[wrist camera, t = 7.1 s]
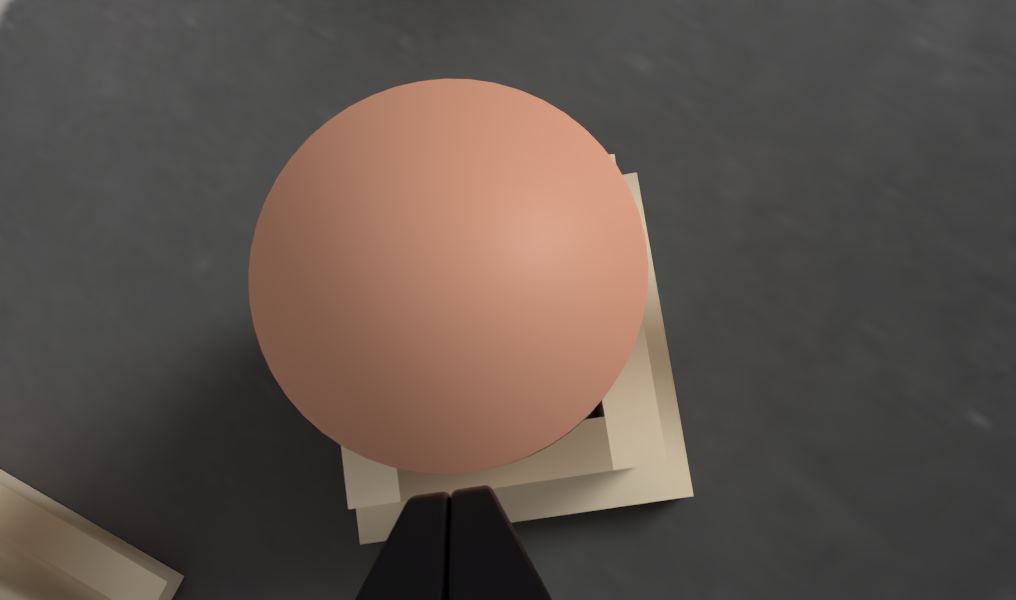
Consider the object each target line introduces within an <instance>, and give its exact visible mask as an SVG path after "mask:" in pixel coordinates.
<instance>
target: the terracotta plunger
mask: <svg viewBox="0 0 1016 600" xmlns="http://www.w3.org/2000/svg"><path fill="white" fill-rule="evenodd" d="M248 278H249V301H250V307H251V313H252V319H253V325H254V329H255V332H256V335H257V338H258V342H259V345H260V348H261V351H262V353H263V355H264V357H265V359H266V362H267V364H268V366H269V368H270V370H271V372H272V374H273V376H274V377H275V379H276V381H277V382H278V384H279V385H280V387H281V388H282V390H283V391H284V393H285V395H286V396H287V397H288V398H289V399H290V401H291V402H292V403H293V404H294V405H295V407H296V408H297V409H298V410H299V411H300V412H301V414H302V415H303V416H304V417H305V418H307V419H308V420H309V421H310V422H311V423H312V424H313V425H314V426H315V427H317V428H318V429H319V430H320V431H321V432H322V433H324V434H325V435H327V436H328V437H330V438H331V439H333V440H334V441H335V442H337V443H338V444H340V445H341V446H343V447H344V448H346V449H348V450H351V451H353V452H355V453H357V454H359V455H361V456H363V457H365V458H367V459H369V460H372V461H375V462H378V463H381V464H384V465H387V466H390V467H393V468H398V469H403V470H408V471H414V472H419V473H436V474H454V473H467V472H476V471H480V470H485V469H490V468H494V467H499V466H503V465H507V464H510V463H513V462H515V461H518V460H521V459H524V458H527V457H529V456H532V455H534V454H535V453H537V452H539V451H541V450H543V449H545V448H547V447H549V446H551V445H553V444H554V443H555V442H557V441H558V440H560V439H561V438H563V437H564V436H565V435H567V434H568V433H570V432H571V431H572V430H573V429H575V428H576V427H577V426H578V425H579V424H580V423H581V422H582V421H583V420H584V419H585V418H587V417H588V416H589V415H590V414H591V412H592V411H593V410H594V409H595V408H596V406H597V405H598V404H599V403H600V402H601V400H602V399H603V398H604V397H605V395H606V394H607V393H608V391H609V390H610V389H611V387H612V386H613V384H614V382H615V381H616V379H617V378H618V376H619V374H620V373H621V371H622V370H623V368H624V367H625V364H626V362H627V360H628V358H629V356H630V353H631V351H632V349H633V347H634V345H635V343H636V339H637V336H638V333H639V330H640V326H641V323H642V320H643V316H644V310H645V304H646V298H647V292H648V256H647V246H646V238H645V234H644V230H643V226H642V221H641V217H640V213H639V211H638V208H637V206H636V203H635V201H634V198H633V195H632V193H631V190H630V188H629V187H628V185H627V183H626V181H625V179H624V178H623V176H622V174H621V172H620V170H619V169H618V167H617V166H616V164H615V163H614V162H613V160H612V159H611V157H610V156H609V155H608V153H607V152H606V151H605V149H604V148H603V147H602V146H601V145H600V144H599V143H598V142H597V141H596V140H595V139H594V138H593V137H592V136H591V134H590V133H589V132H588V131H587V130H586V129H585V128H583V127H582V126H581V125H580V124H578V123H577V122H576V121H574V120H573V119H572V118H571V117H569V116H568V115H567V114H566V113H564V112H562V111H561V110H559V109H557V108H556V107H554V106H552V105H551V104H549V103H547V102H546V101H544V100H542V99H539V98H537V97H535V96H532V95H530V94H528V93H525V92H523V91H521V90H518V89H514V88H511V87H507V86H504V85H500V84H497V83H491V82H485V81H478V80H472V79H437V80H427V81H419V82H414V83H410V84H406V85H401V86H397V87H394V88H391V89H388V90H385V91H383V92H380V93H377V94H374V95H371V96H370V97H368V98H366V99H364V100H362V101H360V102H358V103H356V104H354V105H352V106H350V107H348V108H347V109H345V110H344V111H342V112H341V113H339V114H338V115H336V116H335V117H333V118H332V119H330V120H329V121H327V122H326V123H325V124H324V125H323V126H322V127H321V128H319V129H318V130H317V131H316V132H315V133H314V134H313V135H311V136H310V137H309V138H308V139H307V140H306V141H305V143H304V144H303V145H302V146H301V147H300V148H299V149H298V150H297V151H296V153H295V154H294V155H293V156H292V157H291V159H290V160H289V161H288V163H287V164H286V166H285V167H284V169H283V170H282V172H281V173H280V174H279V176H278V177H277V179H276V181H275V183H274V185H273V187H272V189H271V191H270V192H269V194H268V196H267V198H266V200H265V203H264V205H263V208H262V211H261V214H260V216H259V219H258V222H257V225H256V229H255V233H254V238H253V242H252V246H251V253H250V263H249V273H248Z"/></svg>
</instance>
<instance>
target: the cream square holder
mask: <svg viewBox="0 0 1016 600" xmlns="http://www.w3.org/2000/svg"><path fill="white" fill-rule="evenodd" d="M609 156H610V157H611V159H612V160H613V162H614V163H615V164H616V161H615V155H614V154H611V155H609ZM622 176H623V178H624V179H625V181H626V183H627V185H628V187H629V188H630V190H631V193H632V195H633V198H634V201H635V203H636V206H637V208H638V211H639V213H640V217H641V221H642V226H643V230H644V234H645V238H646V246H647V256H648V292H647V298H646V304H645V310H644V316H643V320H642V323H641V326H640V330H639V333H638V336H637V339H636V343H635V345H634V347H633V349H632V351H631V353H630V356H629V358H628V360H627V362H626V364H625V367H624V368H623V370H622V371H621V373H620V374H619V376H618V378H617V379H616V381H615V382H614V384H613V386H612V387H611V389H610V390H609V391H608V393H607V394H606V395H605V397H604V398H603V399H602V400H601V402H600V403H599V404H598V405H597V406H596V408H595V409H594V410H593V411H592V412H591V414H590V415H589V416H588V417H587V418H585V419H584V420H583V421H582V422H581V423H580V424H579V425H578V426H577V427H576V428H575V429H573V430H572V431H571V432H570V433H568V434H567V435H565V436H564V437H563V438H561V439H560V440H558V441H557V442H555V443H554V444H553V445H551V446H549V447H547V448H545V449H543V450H541V451H539V452H537V453H535V454H534V455H532V456H529V457H527V458H524V459H521V460H518V461H515V462H513V463H510V464H507V465H503V466H499V467H494V468H490V469H485V470H480V471H476V472H467V473H454V474H436V473H419V472H414V471H408V470H403V469H398V468H393V467H390V466H387V465H384V464H381V463H378V462H375V461H372V460H369V459H367V458H365V457H363V456H361V455H359V454H357V453H355V452H353V451H351V450H348V449H346V448H344V447H343V446H341V451H342V460H343V469H344V477H345V486H346V495H347V504H348V509H355V508H356V514H357V523H358V531H359V540H360V545H361V544H367V543H374V542H381V541H386V540H387V538H388V536H389V534H390V532H391V530H392V528H393V526H394V524H395V523H396V521H397V519H398V517H399V515H400V513H401V511H402V509H403V507H404V505H405V504H406V502H407V501H408V499H410V498H411V497H412V496H415V495H421V494H428V493H435V492H442V491H443V492H447V493H449V494H450V496H451V495H452V492H453V491H455V490H457V489H462V488H469V487H476V486H483V485H487V486H490V487H491V488H492V489H493V490H494V492H495V494H496V496H497V498H498V500H499V501H500V503H501V505H502V507H503V509H504V511H505V513H506V514H507V516H508V518H509V520H510V522H511V523H512V522H519V521H526V520H533V519H540V518H546V517H553V516H560V515H567V514H574V513H581V512H588V511H595V510H601V509H608V508H615V507H622V506H629V505H636V504H643V503H650V502H657V501H663V500H670V499H677V498H684V497H691V496H693V490H692V484H691V479H690V473H689V467H688V461H687V456H686V450H685V444H684V439H683V433H682V427H681V422H680V416H679V410H678V405H677V399H676V393H675V387H674V382H673V376H672V370H671V365H670V359H669V353H668V348H667V342H666V336H665V331H664V325H663V319H662V313H661V308H660V302H659V296H658V291H657V285H656V279H655V274H654V268H653V262H652V256H651V251H650V245H649V239H648V234H647V228H646V222H645V217H644V211H643V205H642V200H641V194H640V188H639V182H638V177H637V173H631V174H625V175H622Z"/></svg>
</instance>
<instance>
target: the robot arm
mask: <svg viewBox="0 0 1016 600" xmlns="http://www.w3.org/2000/svg"><path fill="white" fill-rule="evenodd" d="M355 600H552V599H551V597H550V595H549V593H548V591H547V589H546V587H545V585H544V584H543V582H542V580H541V578H540V576H539V574H538V572H537V571H536V569H535V567H534V565H533V563H532V561H531V559H530V557H529V556H528V554H527V552H526V550H525V548H524V546H523V544H522V542H521V541H520V539H519V537H518V535H517V533H516V531H515V529H514V528H513V526H512V524H511V522H510V520H509V518H508V516H507V514H506V513H505V511H504V509H503V507H502V505H501V503H500V501H499V500H498V498H497V496H496V494H495V492H494V490H493V489H492V488H491V487H490V486H487V485H483V486H476V487H469V488H462V489H457V490H455V491H453V492H452V495H451V496H450V494H449V493H447V492H443V491H442V492H435V493H428V494H421V495H415V496H412V497H411V498H410V499H408V501H407V502H406V504H405V505H404V507H403V509H402V511H401V513H400V515H399V517H398V519H397V521H396V523H395V524H394V526H393V528H392V530H391V532H390V534H389V536H388V538H387V540H386V542H385V544H384V545H383V547H382V549H381V551H380V553H379V555H378V557H377V559H376V561H375V563H374V565H373V566H372V568H371V570H370V572H369V574H368V576H367V578H366V580H365V582H364V584H363V585H362V587H361V589H360V591H359V593H358V595H357V597H356V599H355Z"/></svg>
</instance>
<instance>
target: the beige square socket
mask: <svg viewBox="0 0 1016 600" xmlns="http://www.w3.org/2000/svg"><path fill="white" fill-rule="evenodd" d="M183 578H184V576H183V575H182V574H180V573H178V572H176V571H175V570H173V569H171V568H170V567H168V566H166V565H164V564H163V563H161V562H159V561H157V560H156V559H154V558H152V557H151V556H149V555H147V554H145V553H144V552H142V551H140V550H139V549H137V548H135V547H133V546H132V545H130V544H128V543H126V542H125V541H123V540H121V539H120V538H118V537H116V536H114V535H113V534H111V533H109V532H108V531H106V530H104V529H102V528H101V527H99V526H97V525H96V524H94V523H92V522H90V521H89V520H87V519H85V518H83V517H82V516H80V515H78V514H77V513H75V512H73V511H71V510H70V509H68V508H66V507H65V506H63V505H61V504H59V503H58V502H56V501H54V500H53V499H51V498H49V497H47V496H46V495H44V494H42V493H40V492H39V491H37V490H35V489H34V488H32V487H30V486H28V485H27V484H25V483H23V482H22V481H20V480H18V479H16V478H15V477H13V476H11V475H10V474H8V473H6V472H4V471H3V470H1V469H0V600H172V598H173V596H174V595H175V593H176V591H177V589H178V587H179V585H180V584H181V582H182V580H183Z"/></svg>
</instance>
